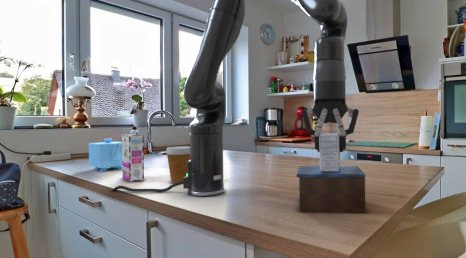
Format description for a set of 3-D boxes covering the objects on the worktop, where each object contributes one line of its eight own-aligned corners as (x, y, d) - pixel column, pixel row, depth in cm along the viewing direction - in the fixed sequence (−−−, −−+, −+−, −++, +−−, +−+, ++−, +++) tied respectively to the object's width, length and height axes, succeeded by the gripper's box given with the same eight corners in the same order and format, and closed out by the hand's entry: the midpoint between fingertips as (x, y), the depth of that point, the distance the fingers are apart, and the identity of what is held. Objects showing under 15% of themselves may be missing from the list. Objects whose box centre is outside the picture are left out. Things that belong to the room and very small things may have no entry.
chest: (299, 211, 66) (299, 177, 66) (301, 198, 78) (301, 169, 78) (365, 212, 65) (365, 177, 65) (357, 199, 77) (357, 169, 77)
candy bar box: (145, 180, 105) (144, 134, 105) (129, 182, 102) (128, 135, 101) (136, 176, 113) (135, 133, 113) (122, 178, 110) (120, 134, 110)
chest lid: (296, 177, 66) (296, 173, 66) (299, 169, 78) (299, 166, 78) (365, 177, 65) (365, 173, 65) (357, 169, 77) (357, 166, 77)
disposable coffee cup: (162, 181, 103) (162, 147, 102) (190, 178, 109) (189, 145, 108) (170, 186, 95) (169, 149, 95) (199, 182, 101) (198, 147, 101)
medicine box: (338, 172, 67) (338, 134, 67) (319, 172, 68) (319, 134, 68) (340, 167, 75) (339, 133, 75) (322, 166, 76) (322, 133, 76)
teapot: (87, 168, 134) (86, 138, 134) (113, 165, 143) (113, 137, 142) (106, 173, 120) (105, 140, 120) (134, 170, 129) (133, 138, 129)
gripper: (357, 82, 74) (357, 150, 74) (300, 83, 75) (301, 150, 76) (362, 78, 67) (362, 153, 67) (298, 79, 68) (299, 153, 68)
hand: (330, 151), depth 71 cm, fingers closed on medicine box, 4 cm apart
